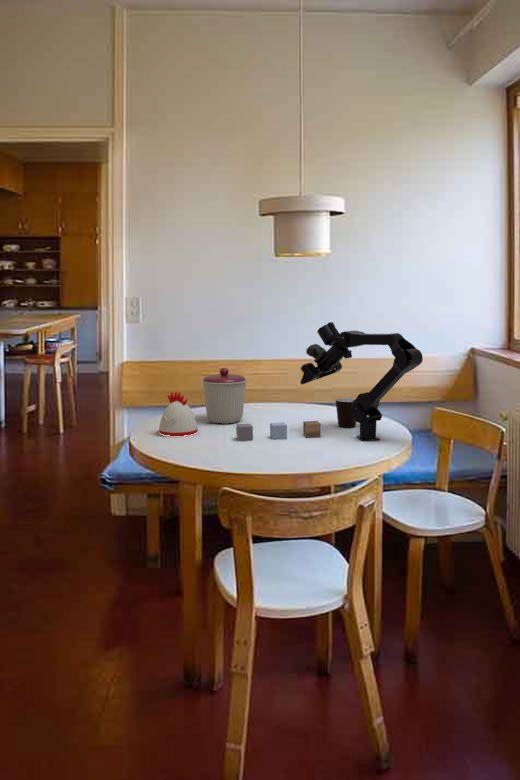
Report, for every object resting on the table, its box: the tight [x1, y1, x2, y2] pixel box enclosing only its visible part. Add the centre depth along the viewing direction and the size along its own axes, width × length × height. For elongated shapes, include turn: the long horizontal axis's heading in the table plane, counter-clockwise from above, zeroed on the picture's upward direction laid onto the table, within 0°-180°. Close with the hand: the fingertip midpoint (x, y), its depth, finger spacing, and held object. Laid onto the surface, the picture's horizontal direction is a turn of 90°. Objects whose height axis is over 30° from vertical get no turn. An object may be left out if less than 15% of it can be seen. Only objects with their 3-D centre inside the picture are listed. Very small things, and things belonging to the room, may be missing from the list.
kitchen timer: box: [158, 391, 199, 436], centre depth 266 cm, size 14×14×15 cm
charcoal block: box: [235, 423, 254, 442], centre depth 256 cm, size 5×5×5 cm
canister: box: [200, 367, 249, 425], centre depth 286 cm, size 18×18×21 cm
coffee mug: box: [335, 397, 357, 429], centre depth 277 cm, size 12×9×10 cm
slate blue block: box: [269, 421, 288, 441], centre depth 258 cm, size 5×5×5 cm
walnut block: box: [302, 420, 321, 439], centre depth 260 cm, size 5×5×5 cm
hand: (308, 380), depth 272 cm, fingers open, 9 cm apart
